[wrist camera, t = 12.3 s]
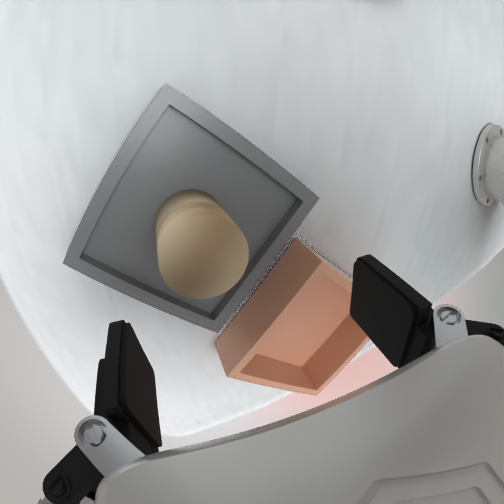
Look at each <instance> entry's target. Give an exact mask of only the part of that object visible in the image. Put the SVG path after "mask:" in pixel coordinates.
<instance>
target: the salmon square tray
mask: <svg viewBox="0 0 504 504" xmlns="http://www.w3.org/2000/svg"><path fill="white" fill-rule="evenodd" d="M352 281H353V278H351V277H350V276H349V275H347V274H346V273H345V272H343V271H342V270H340V269H339V268H338V267H336V266H335V265H334V264H332V263H331V262H329V261H328V260H327V259H325V258H324V257H322V256H321V255H320V254H318V253H317V252H315V251H314V250H313V249H311V248H310V247H308V246H307V245H306V244H304V243H303V242H301V241H300V240H298V239H297V238H295V239H294V241H293V242H292V243H291V245H290V246H289V247H288V249H287V250H286V251H285V253H284V254H283V255H282V256H281V258H280V259H279V260H278V262H277V263H276V264H275V266H274V267H273V268H272V270H271V271H270V272H269V274H268V275H267V276H266V278H265V279H264V280H263V281H262V283H261V284H260V285H259V287H258V288H257V289H256V291H255V292H254V293H253V294H252V296H251V297H250V298H249V300H248V301H247V302H246V304H245V305H244V306H243V307H242V309H241V310H240V311H239V313H238V314H237V315H236V316H235V318H234V319H233V320H232V321H231V323H230V324H229V325H228V327H227V328H226V329H225V330H224V332H223V333H222V334H221V335H220V337H219V338H218V339H217V340H216V342H215V345H216V348H217V351H218V354H219V357H220V360H221V362H222V365H223V368H224V371H225V373H226V376H227V377H230V378H234V379H238V380H242V381H246V382H250V383H255V384H259V385H264V386H268V387H273V388H278V389H283V390H288V391H293V392H299V393H304V394H310V395H317V394H318V393H319V392H321V390H323V389H324V387H326V386H327V385H328V384H329V383H330V381H332V380H333V379H334V377H335V376H337V374H338V373H339V372H340V371H341V370H342V369H343V368H344V367H345V366H346V365H347V364H348V363H349V362H350V361H351V360H352V359H353V358H354V356H355V355H356V354H357V353H358V352H359V351H360V350H361V349H362V348H363V346H364V345H365V344H366V343H367V342H368V341H369V340H370V338H369V337H368V336H367V335H366V333H365V332H364V331H363V330H362V329H361V328H360V327H359V325H358V324H357V323H356V322H355V321H354V320H353V319H352V317H351V315H350V302H351V292H352Z"/></svg>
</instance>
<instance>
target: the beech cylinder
mask: <svg viewBox="0 0 504 504" xmlns="http://www.w3.org/2000/svg"><path fill="white" fill-rule="evenodd" d="M155 229H156V242H157V254H158V264H159V270H160V273H161V276H162V278H163V280H164V281H165V283H166V284H167V285H168V286H169V287H170V288H171V289H172V290H173V291H175V292H176V293H178V294H180V295H182V296H184V297H188V298H192V299H207V298H212V297H215V296H218V295H221V294H223V293H225V292H226V291H228V290H229V289H231V288H232V287H233V286H234V285H235V284H236V283H237V282H238V281H239V280H240V279H241V277H242V275H243V274H244V272H245V270H246V267H247V264H248V259H249V248H248V243H247V240H246V238H245V236H244V234H243V233H242V231H241V230H240V229H239V228H238V226H237V225H236V224H235V223H234V222H233V220H232V219H231V218H230V217H229V215H228V214H227V213H226V212H225V211H224V209H223V208H222V207H221V206H220V204H219V203H218V202H217V201H216V200H215V199H214V198H213V197H212V196H211V195H210V194H208V193H206V192H204V191H201V190H196V189H187V190H182V191H178V192H176V193H174V194H172V195H171V196H169V197H168V198H167V199H166V200H165V201H164V202H163V203H162V205H161V206H160V208H159V210H158V212H157V215H156V220H155Z"/></svg>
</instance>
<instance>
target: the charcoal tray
mask: <svg viewBox="0 0 504 504" xmlns="http://www.w3.org/2000/svg"><path fill="white" fill-rule="evenodd" d="M187 189H196V190H201V191H204V192H206V193H208V194H210V195H211V196H212V197H213V198H214V199H215V200H216V201H217V202H218V203H219V204H220V206H221V207H222V208H223V209H224V211H225V212H226V213H227V214H228V215H229V217H230V218H231V219H232V220H233V222H234V223H235V224H236V225H237V226H238V228H239V229H240V230H241V231H242V233H243V234H244V236H245V238H246V240H247V243H248V248H249V259H248V264H247V267H246V270H245V272H244V274H243V275H242V277H241V279H240V280H239V281H238V282H237V283H236V284H235V285H234V286H233V287H232V288H231V289H229V290H228V291H226V292H225V293H223V294H221V295H218V296H215V297H212V298H207V299H192V298H188V297H184V296H182V295H180V294H178V293H176V292H175V291H173V290H172V289H171V288H170V287H169V286H168V285H167V284H166V283H165V281H164V280H163V278H162V276H161V273H160V270H159V264H158V254H157V242H156V229H155V220H156V215H157V212H158V210H159V208H160V206H161V205H162V203H163V202H164V201H165V200H166V199H167V198H168V197H169V196H171V195H172V194H174V193H176V192H178V191H182V190H187ZM318 199H319V197H317V196H316V195H315V194H314V193H313V192H312V191H310V190H309V189H308V188H307V187H306V186H305V185H303V184H302V183H301V182H300V181H299V180H297V179H296V178H295V177H294V176H292V175H291V174H290V173H289V172H288V171H286V170H285V169H284V168H283V167H281V166H280V165H279V164H278V163H276V162H275V161H274V160H273V159H271V158H270V157H269V156H268V155H266V154H265V153H264V152H262V151H261V150H260V149H259V148H257V147H256V146H255V145H253V144H252V143H251V142H249V141H248V140H247V139H245V138H244V137H243V136H241V135H240V134H239V133H237V132H236V131H235V130H233V129H232V128H231V127H229V126H228V125H227V124H225V123H224V122H222V121H221V120H220V119H218V118H217V117H215V116H214V115H213V114H211V113H210V112H208V111H207V110H205V109H204V108H203V107H201V106H200V105H198V104H197V103H195V102H194V101H192V100H191V99H189V98H188V97H186V96H185V95H183V94H182V93H180V92H179V91H177V90H176V89H174V88H173V87H171V86H170V85H168V84H167V83H166V84H165V86H164V87H163V88H162V89H161V91H160V92H159V93H158V95H157V96H156V97H155V99H154V100H153V102H152V103H151V104H150V106H149V107H148V108H147V110H146V111H145V113H144V114H143V116H142V117H141V118H140V120H139V121H138V123H137V124H136V126H135V127H134V129H133V130H132V132H131V133H130V135H129V136H128V138H127V140H126V141H125V143H124V144H123V146H122V148H121V149H120V151H119V152H118V154H117V156H116V157H115V159H114V161H113V162H112V164H111V166H110V168H109V169H108V171H107V173H106V175H105V176H104V178H103V180H102V182H101V184H100V185H99V187H98V189H97V191H96V193H95V195H94V197H93V199H92V200H91V202H90V204H89V206H88V208H87V210H86V212H85V214H84V216H83V219H82V221H81V223H80V225H79V227H78V229H77V231H76V233H75V236H74V238H73V240H72V242H71V245H70V247H69V249H68V252H67V254H66V257H65V259H64V261H63V264H65V265H67V266H69V267H71V268H73V269H75V270H77V271H79V272H81V273H83V274H84V275H86V276H88V277H90V278H92V279H94V280H96V281H98V282H101V283H103V284H105V285H107V286H109V287H111V288H113V289H115V290H117V291H119V292H121V293H124V294H126V295H128V296H130V297H132V298H135V299H137V300H139V301H141V302H143V303H146V304H148V305H150V306H153V307H155V308H157V309H159V310H162V311H164V312H167V313H169V314H171V315H174V316H176V317H179V318H181V319H183V320H186V321H188V322H191V323H193V324H196V325H198V326H201V327H204V328H206V329H209V330H211V331H214V332H217V333H218V332H219V330H220V329H221V328H222V327H223V325H224V324H225V323H226V321H227V320H228V319H229V318H230V316H231V315H232V314H233V312H234V311H235V310H236V308H237V307H238V306H239V305H240V303H241V302H242V301H243V299H244V298H245V297H246V296H247V294H248V293H249V292H250V290H251V289H252V288H253V286H254V285H255V284H256V282H257V281H258V280H259V278H260V277H261V276H262V275H263V273H264V272H265V271H266V269H267V268H268V267H269V265H270V264H271V263H272V261H273V260H274V259H275V257H276V256H277V255H278V253H279V252H280V251H281V249H282V248H283V247H284V245H285V244H286V243H287V241H288V240H289V239H290V237H291V236H292V235H293V233H294V232H295V231H296V229H297V228H298V227H299V225H300V224H301V223H302V221H303V220H304V219H305V217H306V216H307V214H308V213H309V212H310V210H311V209H312V208H313V206H314V205H315V204H316V202H317V201H318Z"/></svg>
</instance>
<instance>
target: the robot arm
mask: <svg viewBox="0 0 504 504" xmlns="http://www.w3.org/2000/svg"><path fill="white" fill-rule="evenodd" d="M473 187H474V192H475V195H476V198H477V200H478V201H479V202H480V203H482V204H484V205H486V206H489V205H492V204H493V203H495V202H496V200H498V201H501V202H502V204H503V205H504V130H503V128H502V127H501V126H499V125H496V124H489V125H488V126H486V127H485V128H484V130H483V131H482V133H481V135H480V137H479V140H478V143H477V146H476V150H475V155H474V162H473ZM431 306H432V303H430V302H429V301H428V300H427V299H426V298H424V297H423V296H422V295H421V294H420V293H418V292H417V291H416V290H415V289H414V288H412V287H411V286H410V285H409V284H407V283H406V282H405V281H404V280H402V279H401V278H400V277H399V276H398V275H396V274H395V273H394V272H392V271H391V270H390V269H389V268H387V267H386V266H385V265H384V264H382V263H381V262H380V261H378V260H377V259H376V258H375V257H373V256H372V255H370V254H368V255H365V256H362V257H359V258H357V260H356V262H355V263H354V268H353V281H352V292H351V302H350V315H351V317H352V319H353V320H354V321H355V322H356V323H357V324H358V325H359V327H360V328H361V329H362V330H363V331H364V332H365V333H366V335H367V336H368V337H369V338H370V339H371V340H372V342H373V343H374V344H375V345H376V346H377V347H378V349H379V350H380V351H381V352H382V353H383V354H384V355H385V357H386V358H387V359H388V360H389V361H390V363H391V364H392V365H393V366H395V367H398V368H399V369H397V370H396V371H394V372H392V373H390V374H388V375H386V376H384V377H382V378H380V379H378V380H376V381H374V382H372V383H370V384H368V385H366V386H364V387H361V388H360V389H357V390H355V391H353V392H351V393H348V394H346V395H344V396H342V397H339V398H337V399H335V400H332V401H330V402H328V403H325V404H323V405H320V406H318V407H315V408H313V409H310V410H307V411H305V412H302V413H300V414H297V415H294V416H291V417H288V418H285V419H283V420H280V421H277V422H274V423H271V424H268V425H265V426H262V427H258V428H255V429H251V430H248V431H245V432H241V433H238V434H234V435H230V436H227V437H222V438H219V439H214V440H210V441H207V442H202V443H198V444H194V445H189V446H184V447H179V448H175V449H171V450H167V451H162V452H159V450H158V447H161V446H162V440H161V432H160V424H159V416H158V406H157V396H156V385H155V375H154V371H153V368H152V366H151V364H150V362H149V361H148V359H147V357H146V355H145V353H144V351H143V349H142V347H141V345H140V343H139V341H138V339H137V337H136V334H135V332H134V330H133V328H132V326H131V324H130V323H125V321H124V320H121V321H116V322H112V323H110V324H109V329H108V337H107V344H106V353H105V359H100V361H99V364H98V373H97V383H96V394H95V407H94V415H92V416H89V417H86V418H85V419H83V420H81V422H79V424H78V425H77V427H76V429H75V433H74V438H75V442H76V444H77V445H76V446H75V447H74V448H73V449H72V450H71V451H70V452H69V453H68V454H67V455H66V456H65V457H64V458H63V459H62V460H61V461H60V462H59V463H58V464H57V465H56V466H55V467H54V468H53V469H52V470H51V471H50V472H49V473H48V474H47V475H46V477H45V478H44V482H43V492H44V494H45V497H44V499H43V500H42V499H40V500H39V502H38V504H504V329H503V328H502V327H500V326H499V325H496V324H492V323H485V322H478V321H471V320H465V317H464V315H463V313H462V311H461V310H460V309H458V308H457V307H455V306H453V305H449V304H442V305H439V306H437V307H436V308H435V309H434V310H433V309H432V308H431Z"/></svg>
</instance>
